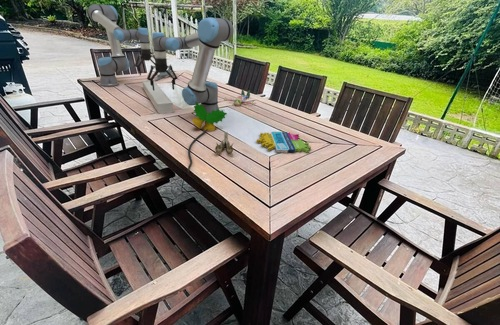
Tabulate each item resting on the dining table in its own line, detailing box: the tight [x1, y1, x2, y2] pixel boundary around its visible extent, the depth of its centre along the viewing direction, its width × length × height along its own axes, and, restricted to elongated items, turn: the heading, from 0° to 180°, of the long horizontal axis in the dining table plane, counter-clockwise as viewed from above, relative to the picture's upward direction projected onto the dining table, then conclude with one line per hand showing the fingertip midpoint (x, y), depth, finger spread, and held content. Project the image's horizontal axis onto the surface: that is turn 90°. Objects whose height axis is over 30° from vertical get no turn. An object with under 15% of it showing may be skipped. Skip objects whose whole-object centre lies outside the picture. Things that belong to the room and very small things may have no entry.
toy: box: [223, 89, 257, 106], centre depth 219 cm, size 28×7×30 cm
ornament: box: [191, 102, 228, 132], centre depth 162 cm, size 21×8×15 cm, turn 105°
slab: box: [141, 79, 174, 114], centre depth 211 cm, size 72×10×7 cm, turn 27°
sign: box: [256, 131, 312, 154], centre depth 152 cm, size 26×2×30 cm
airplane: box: [152, 64, 177, 81], centre depth 281 cm, size 38×31×10 cm
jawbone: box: [214, 131, 234, 156], centre depth 136 cm, size 9×15×10 cm
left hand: (148, 75), depth 228 cm, fingers open, 13 cm apart
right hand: (163, 89), depth 186 cm, fingers open, 13 cm apart
